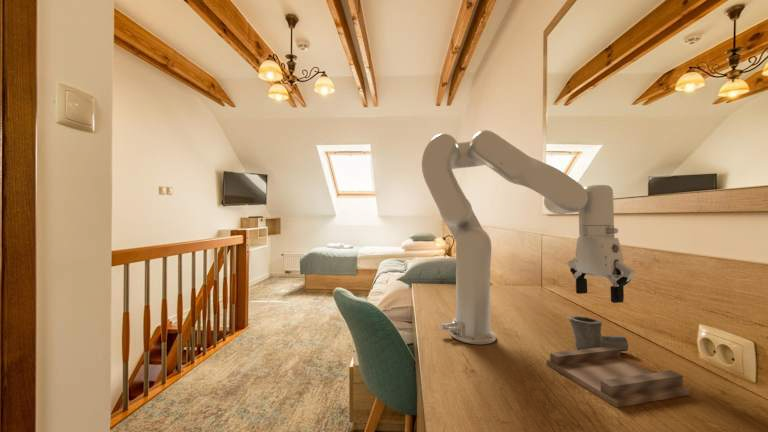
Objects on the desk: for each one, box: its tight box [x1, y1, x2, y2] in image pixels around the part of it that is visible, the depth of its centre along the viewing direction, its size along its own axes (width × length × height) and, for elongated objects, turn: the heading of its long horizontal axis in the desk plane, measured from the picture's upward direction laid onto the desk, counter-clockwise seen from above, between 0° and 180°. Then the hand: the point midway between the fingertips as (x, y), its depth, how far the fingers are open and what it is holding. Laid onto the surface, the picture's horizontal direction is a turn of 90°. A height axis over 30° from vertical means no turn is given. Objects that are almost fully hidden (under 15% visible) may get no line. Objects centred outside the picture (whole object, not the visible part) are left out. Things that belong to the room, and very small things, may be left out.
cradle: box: [546, 346, 690, 408], centre depth 62 cm, size 18×16×3 cm
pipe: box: [568, 315, 629, 352], centre depth 76 cm, size 6×13×8 cm, turn 78°
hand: (598, 297), depth 76 cm, fingers open, 9 cm apart
